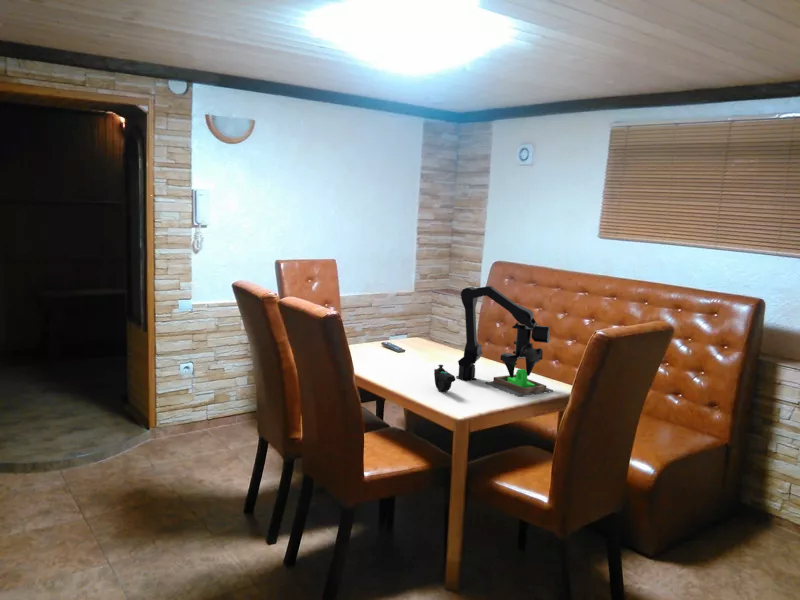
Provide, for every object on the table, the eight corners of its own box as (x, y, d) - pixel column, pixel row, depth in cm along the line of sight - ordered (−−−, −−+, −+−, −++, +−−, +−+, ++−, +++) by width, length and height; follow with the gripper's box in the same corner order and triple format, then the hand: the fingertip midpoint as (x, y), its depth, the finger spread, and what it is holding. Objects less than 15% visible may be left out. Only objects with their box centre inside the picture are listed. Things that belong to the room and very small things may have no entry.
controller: (440, 387, 251) (442, 363, 250) (455, 396, 240) (457, 371, 239) (431, 387, 249) (432, 363, 248) (445, 396, 238) (447, 371, 237)
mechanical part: (534, 389, 253) (536, 370, 252) (521, 390, 251) (523, 371, 250) (519, 381, 264) (521, 363, 263) (507, 382, 262) (508, 363, 261)
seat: (518, 396, 244) (519, 390, 243) (485, 383, 260) (486, 377, 260) (553, 391, 254) (553, 385, 253) (519, 379, 270) (519, 373, 270)
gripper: (520, 345, 242) (516, 384, 245) (553, 342, 252) (550, 379, 255) (501, 339, 252) (497, 377, 254) (534, 337, 262) (531, 372, 264)
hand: (519, 376), depth 256 cm, fingers open, 9 cm apart
